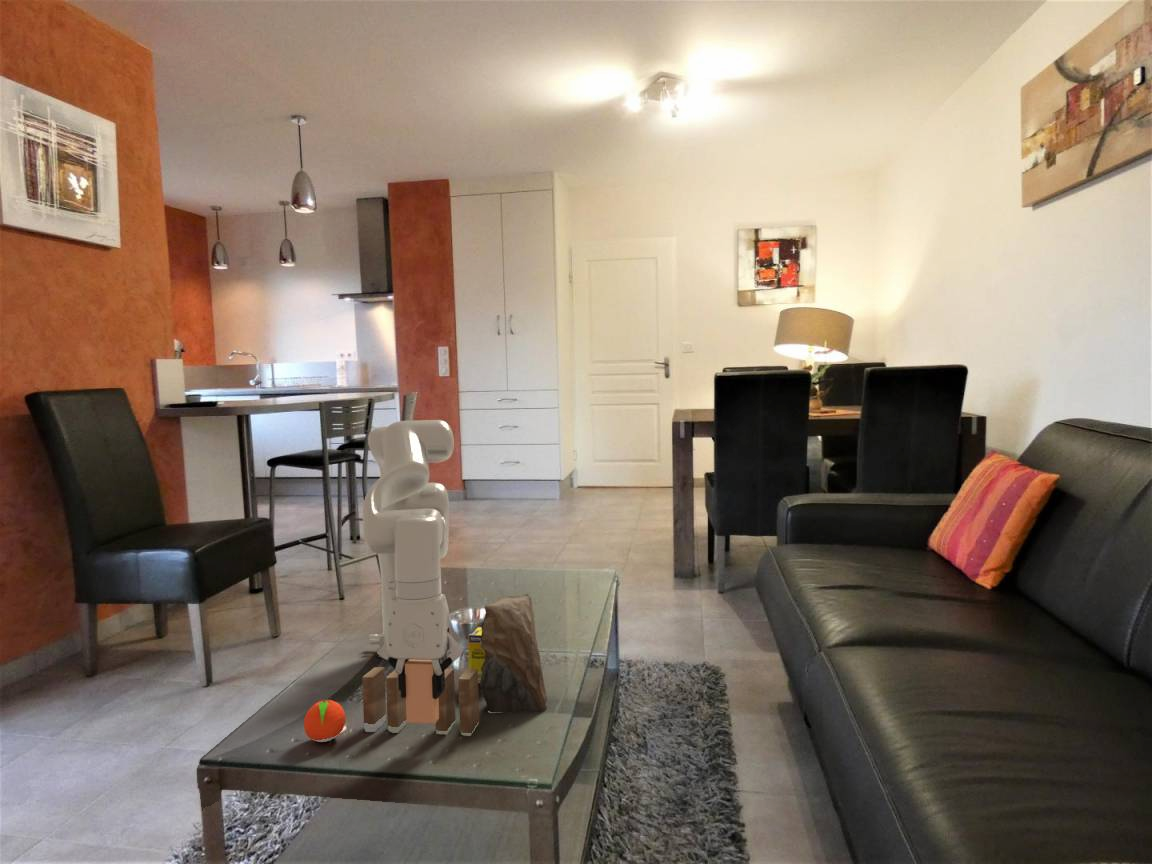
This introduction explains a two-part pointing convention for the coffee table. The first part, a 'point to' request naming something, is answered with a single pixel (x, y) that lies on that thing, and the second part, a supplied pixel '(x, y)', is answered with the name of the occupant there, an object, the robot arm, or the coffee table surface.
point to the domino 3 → (420, 692)
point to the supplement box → (476, 652)
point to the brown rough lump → (511, 657)
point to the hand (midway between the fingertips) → (422, 694)
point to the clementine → (324, 720)
